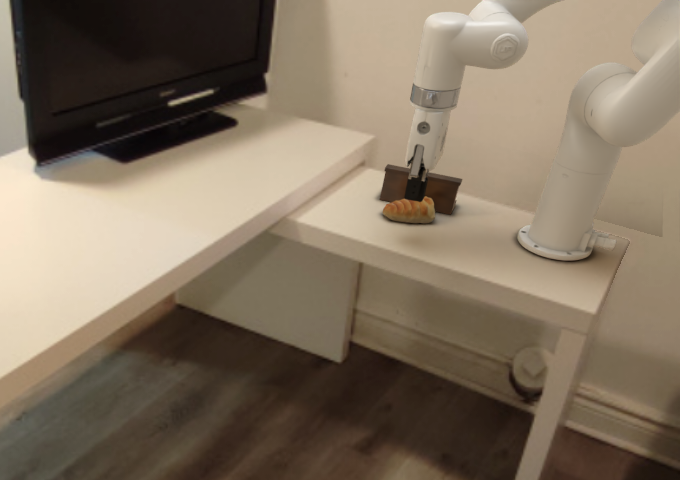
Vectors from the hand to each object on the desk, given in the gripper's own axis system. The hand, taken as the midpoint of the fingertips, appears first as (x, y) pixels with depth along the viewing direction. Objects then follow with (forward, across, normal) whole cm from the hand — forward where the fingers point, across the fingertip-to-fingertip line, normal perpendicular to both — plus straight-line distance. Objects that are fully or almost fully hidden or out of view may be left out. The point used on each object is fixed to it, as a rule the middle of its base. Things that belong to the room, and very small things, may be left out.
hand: (414, 198), depth 142 cm
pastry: (+8, +9, +1) cm, 12 cm away
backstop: (+8, +16, +2) cm, 18 cm away
